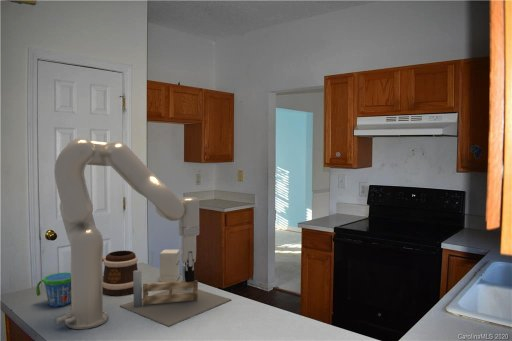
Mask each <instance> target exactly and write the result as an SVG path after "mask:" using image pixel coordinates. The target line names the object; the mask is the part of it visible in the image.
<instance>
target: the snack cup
mask: <svg viewBox="0 0 512 341" xmlns="http://www.w3.org/2000/svg"><path fill="white" fill-rule="evenodd" d="M42 282H43V284H44V286H45V292H46V297H47V303H48V305H49V306H50V307H54V308H55V307H57V308H58V307H63V306H66V305H68V304H70V303H71V272H68V271H67V272H55V273H51V274H49V275H48V274H47V275H46V276H44V277H43V278H42V279H40V280H39V281H38V282H37V283H36V284H37V285H36V290H35V291H36V292H35V293H36V294H35V295H36V296H37V297H39V296H40V295H41V290H40V285H41V283H42Z"/></svg>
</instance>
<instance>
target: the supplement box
mask: <svg viewBox="0 0 512 341" xmlns="http://www.w3.org/2000/svg"><path fill="white" fill-rule="evenodd" d="M180 251H181V249H163V250H162V251H161V252H160V253H159V283H162V282H175V281H178V280H179V278H180V274H181V273H180V271H181V270H180V267H181V266H180V265H181V264H180V258H181V257H180V256H181V252H180Z"/></svg>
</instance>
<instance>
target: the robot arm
mask: <svg viewBox="0 0 512 341" xmlns="http://www.w3.org/2000/svg"><path fill="white" fill-rule="evenodd" d="M87 165H88V166H99V167H111V168H112V170H114V171H115V172H116V173H117V174H118V175H119V176H120V177H121V178H122V179H123V181H125V183H127V185H129V186H130V187H131V188H132V190H134V191H135V192H137V193H138V194H140V195H141V196H143V197H144V198H146V199H147V200H148V201H149V202H151V203H152V204H153V206H154V207H155V212H156V213H157V214H158V216H160V217H161V218H164V219H166V220H168V221H170V222H171V221H172V222H176V221H178V236H179V237H181V241H180V244H181V245H180V251H181V252H180V256H181V257H180V258H181V263H182V264H184V265H185V266H186V271H185V281H186V282H190V281H194V280H195V267H194V265H195V262H196V260H197V236H199V235H200V200H199V198H198V197H195V196H184V197H183V196H182V197H178V196H177V195H176V194H175V193H174V191H172V190H171V188H169V187H168V186H167V184H165V183H164V182H162V180H160V178H158V177H157V175H156V174H154V173H153V172H152V170H150V169H149V168H148V167H147V165H145V163H144V162H143V161H142V160H141V158H139V157H138V156H137V155H136V153H134V151H133V150H132V149H131V148H130V147H129V146H127V144H126V143H123V142H119V141H115V142H110V141H109V142H105V141H95V140H89V139H87V138H82V137H81V138H80V137H78V138H75V139H73V140H71V141H69V142H68V143H67V144H66V145H65V147H64V148H63V149H62V150H61V151H60V153H59V154H58V156H57V158H56V160H55V164H54V169H53V170H54V179H55V183H56V184H55V185H56V188H57V193H58V196H59V200H60V203H59V211H60V216H61V219H62V223H63V226H64V230H65V233H66V235H67V240H68V243H69V245H70V273H71V302H70V303H71V304H70V305H71V309H69V310H67V313H66V314H65V315H62V316H58V317H56V318H55V323H56V324H57V325H59V324H62V323H64V325H66V327H68V328H69V329H74V330H87V329H92V328H96V327H98V326H100V325H103V324H105V323H106V322H107V321H108V319H109V315H108V313H107V312H105V311H104V310H103V309H104V307H103V306H104V303H103V301H104V300H103V299H104V295H103V294H104V292H103V285H102V275H103V262H102V256H103V255H104V239H103V235H102V232H100V230H99V229H98V228H97V226H96V223H95V219H94V215H93V211H94V206H93V202H92V200H91V197H90V193H89V190H88V186H87V181H86V176H85V170H86V167H87Z"/></svg>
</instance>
